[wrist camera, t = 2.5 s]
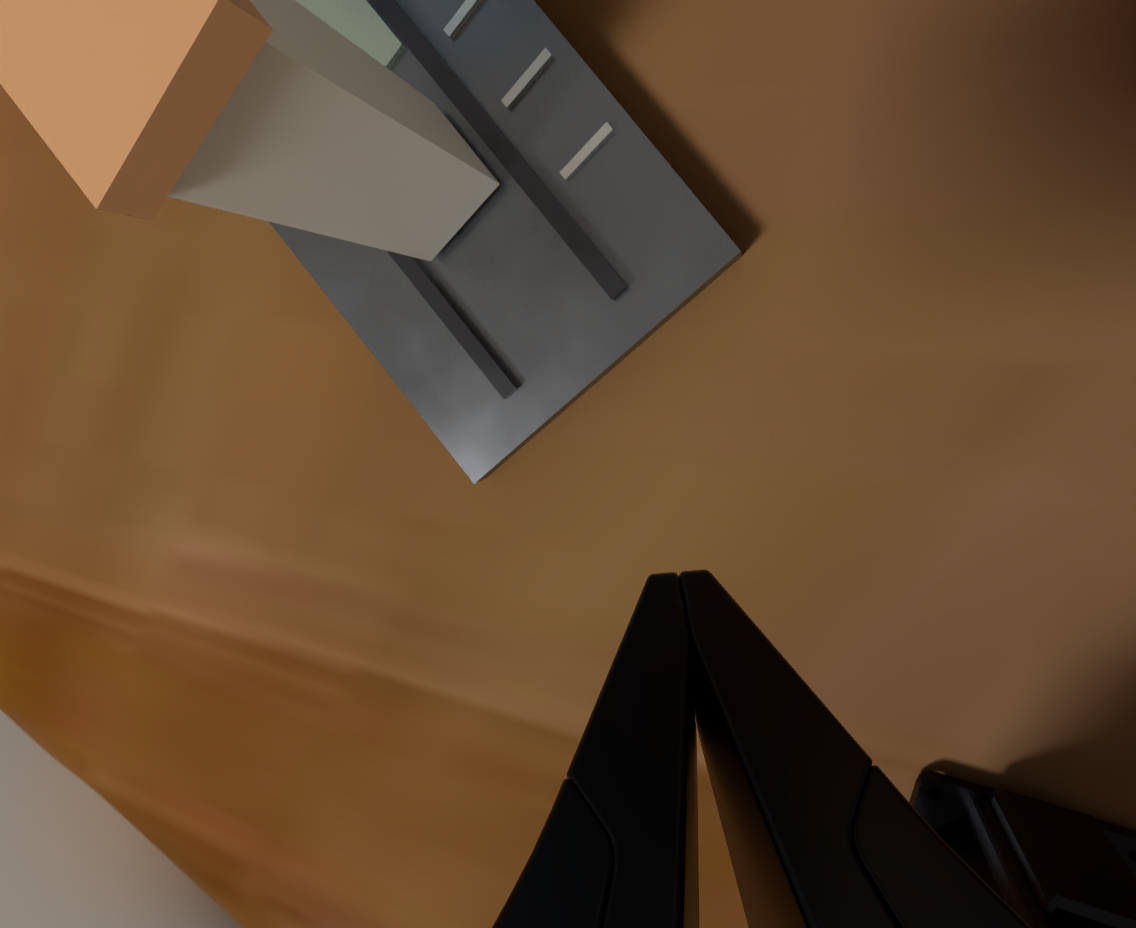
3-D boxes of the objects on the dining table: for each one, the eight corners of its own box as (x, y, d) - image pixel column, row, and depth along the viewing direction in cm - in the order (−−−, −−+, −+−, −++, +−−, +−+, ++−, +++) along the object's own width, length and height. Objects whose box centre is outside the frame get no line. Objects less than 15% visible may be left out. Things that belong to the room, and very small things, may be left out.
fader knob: (513, 183, 19) (221, -4, 9) (430, 276, 20) (96, 209, 10) (434, 85, 19) (55, -212, 9) (357, 183, 21) (-44, 26, 10)
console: (742, 255, 19) (739, 242, 16) (485, 478, 23) (453, 494, 20) (357, -210, 19) (300, -289, 17) (180, 88, 24) (114, 59, 21)
